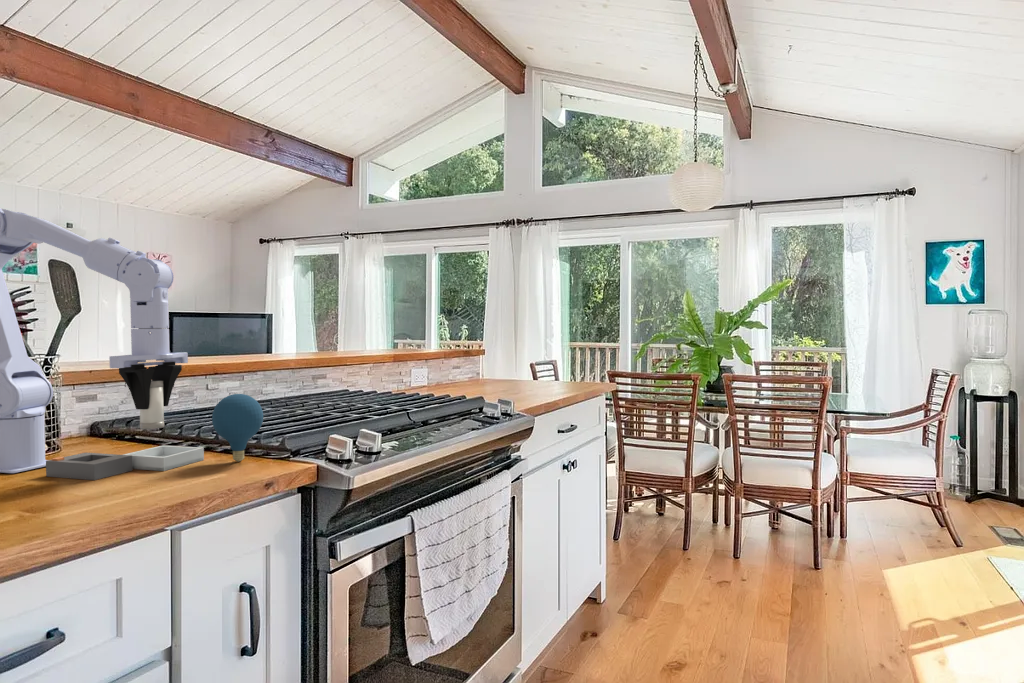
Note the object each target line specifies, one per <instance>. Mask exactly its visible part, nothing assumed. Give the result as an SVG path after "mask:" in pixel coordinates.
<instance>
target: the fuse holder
mask: <svg viewBox="0 0 1024 683" xmlns="http://www.w3.org/2000/svg"><path fill="white" fill-rule="evenodd" d="M47 460H48V461H46V466H45V475H46V476H45V477H50V478H64V479H74V480H76V479H77V480H89V481H97V480H100V479H101V480H102V479H105V478H109V477H112V476H116V475H120V474H123V473H128V472H132V471H133V469H132V455H123V454H116V453H115V454H113V453H98V452H82V453H78V454H73V455H68V456H63V457H62V456H60V457H59V456H58V457H57V456H56V457H54V458H51V459H47Z"/></svg>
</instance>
